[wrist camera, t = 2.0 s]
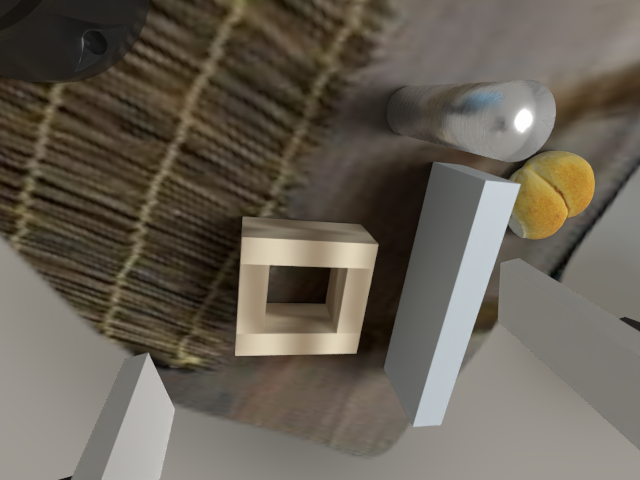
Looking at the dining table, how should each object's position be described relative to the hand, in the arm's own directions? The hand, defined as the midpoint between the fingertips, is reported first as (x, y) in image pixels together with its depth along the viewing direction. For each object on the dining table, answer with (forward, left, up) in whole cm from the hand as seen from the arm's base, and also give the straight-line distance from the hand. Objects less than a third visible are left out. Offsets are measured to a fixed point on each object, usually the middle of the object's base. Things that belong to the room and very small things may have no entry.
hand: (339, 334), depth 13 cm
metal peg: (+10, +8, -20) cm, 24 cm away
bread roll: (+26, +2, -21) cm, 33 cm away
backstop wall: (+15, -8, -20) cm, 26 cm away
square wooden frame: (+2, -8, -20) cm, 22 cm away
